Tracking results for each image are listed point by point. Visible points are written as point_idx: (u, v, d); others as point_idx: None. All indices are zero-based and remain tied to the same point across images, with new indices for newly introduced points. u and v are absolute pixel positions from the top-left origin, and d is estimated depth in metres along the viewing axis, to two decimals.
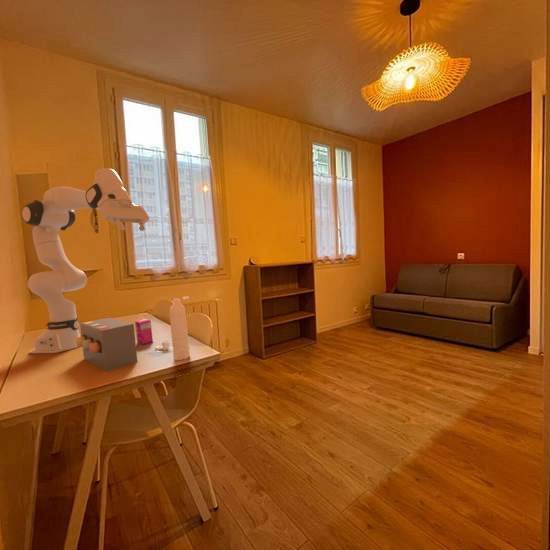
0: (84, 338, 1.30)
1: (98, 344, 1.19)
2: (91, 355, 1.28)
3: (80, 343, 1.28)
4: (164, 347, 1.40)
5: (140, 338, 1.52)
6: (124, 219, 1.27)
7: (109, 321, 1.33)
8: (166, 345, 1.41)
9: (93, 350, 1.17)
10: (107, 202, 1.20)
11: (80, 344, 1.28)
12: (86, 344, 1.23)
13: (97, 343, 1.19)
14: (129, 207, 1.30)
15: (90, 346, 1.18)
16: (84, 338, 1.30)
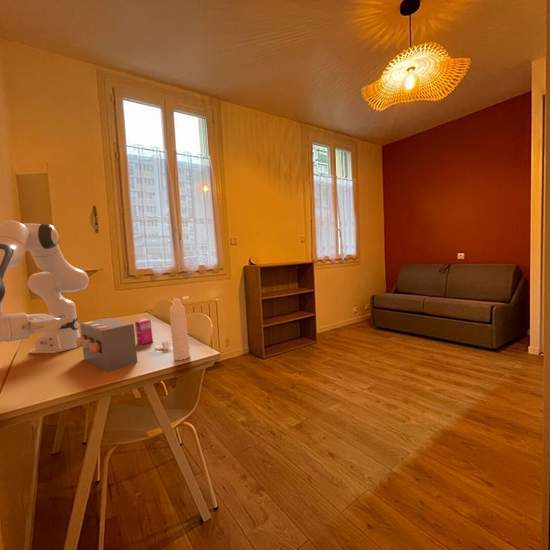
0: (84, 338, 1.30)
1: (98, 344, 1.19)
2: (91, 355, 1.28)
3: (80, 343, 1.28)
4: (164, 347, 1.40)
5: (140, 338, 1.52)
6: None
7: (109, 321, 1.33)
8: (166, 345, 1.41)
9: (93, 350, 1.17)
10: None
11: (80, 344, 1.28)
12: (86, 344, 1.23)
13: (97, 343, 1.19)
14: None
15: (90, 346, 1.18)
16: (84, 338, 1.30)
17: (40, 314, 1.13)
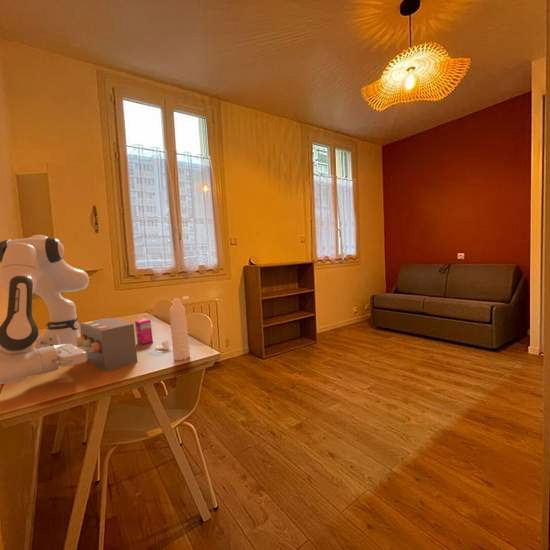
0: (84, 338, 1.30)
1: (100, 343, 1.20)
2: (91, 355, 1.28)
3: (80, 343, 1.28)
4: (164, 347, 1.41)
5: (140, 338, 1.52)
6: None
7: (109, 321, 1.33)
8: (166, 345, 1.41)
9: (96, 350, 1.18)
10: None
11: (80, 344, 1.28)
12: (86, 344, 1.23)
13: (99, 342, 1.20)
14: None
15: (92, 345, 1.19)
16: (84, 338, 1.30)
17: (66, 344, 1.19)
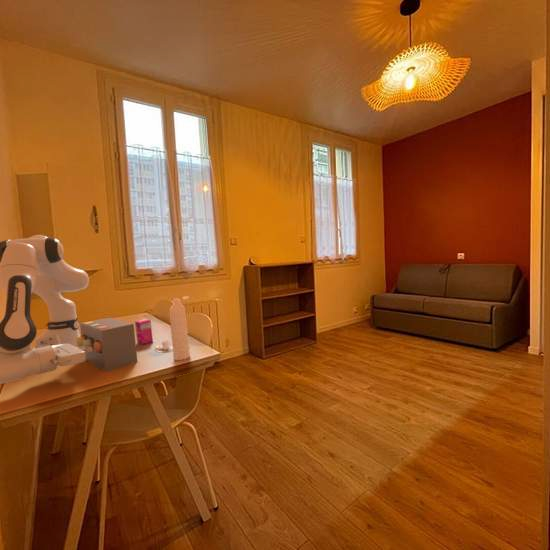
0: (84, 338, 1.30)
1: None
2: (91, 355, 1.28)
3: (80, 343, 1.28)
4: (164, 347, 1.41)
5: (140, 338, 1.52)
6: None
7: (109, 321, 1.33)
8: (166, 345, 1.41)
9: (98, 349, 1.19)
10: None
11: (80, 344, 1.28)
12: (86, 344, 1.23)
13: None
14: None
15: (94, 345, 1.19)
16: (84, 338, 1.30)
17: (64, 344, 1.19)
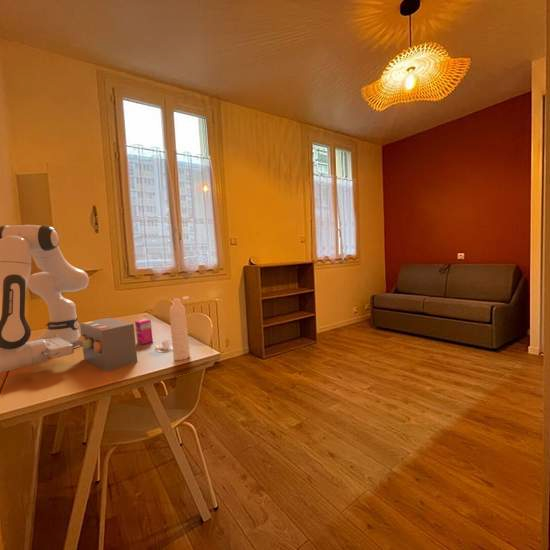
0: (86, 338, 1.30)
1: None
2: (91, 355, 1.28)
3: None
4: (164, 347, 1.41)
5: (140, 338, 1.52)
6: None
7: (109, 321, 1.33)
8: (166, 345, 1.41)
9: (98, 349, 1.19)
10: None
11: None
12: (86, 344, 1.23)
13: None
14: None
15: (94, 345, 1.19)
16: None
17: (55, 338, 1.30)
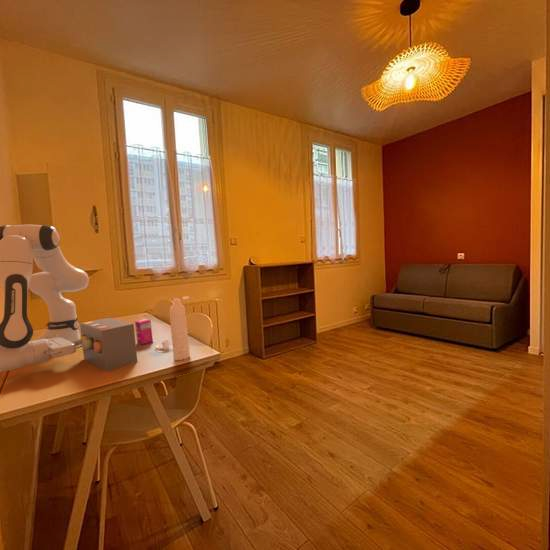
0: None
1: None
2: (91, 355, 1.28)
3: None
4: (164, 347, 1.41)
5: (140, 338, 1.52)
6: None
7: (109, 321, 1.33)
8: (166, 345, 1.41)
9: (98, 349, 1.19)
10: None
11: None
12: (86, 344, 1.23)
13: None
14: None
15: (94, 345, 1.19)
16: None
17: (57, 338, 1.31)
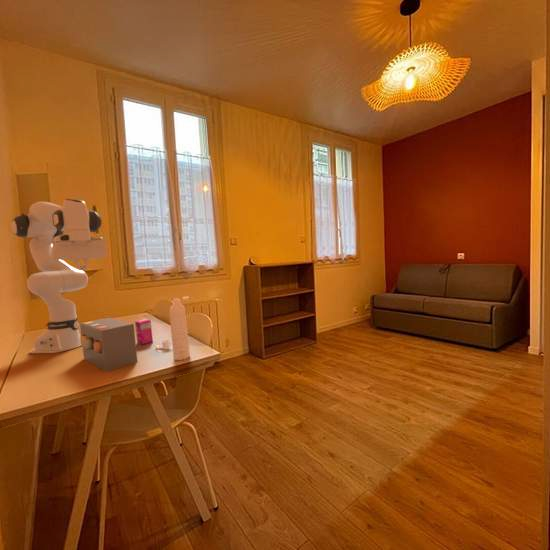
0: None
1: None
2: (91, 355, 1.28)
3: None
4: (164, 346, 1.41)
5: (140, 338, 1.52)
6: None
7: (109, 321, 1.33)
8: (166, 344, 1.41)
9: (98, 349, 1.19)
10: (57, 245, 1.24)
11: None
12: (86, 344, 1.23)
13: None
14: (85, 245, 1.32)
15: (94, 345, 1.19)
16: None
17: None
